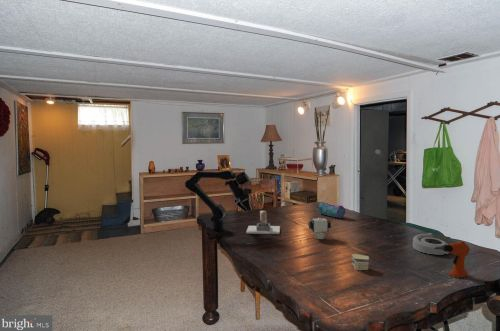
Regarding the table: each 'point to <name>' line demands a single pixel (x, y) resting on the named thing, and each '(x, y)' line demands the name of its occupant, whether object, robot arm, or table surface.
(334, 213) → the pencil case
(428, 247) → the turbocharger housing
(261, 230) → the socket plate
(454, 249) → the toy drill
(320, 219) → the pneumatic valve
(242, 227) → the table surface
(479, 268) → the table surface
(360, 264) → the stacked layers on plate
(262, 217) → the birch pin
